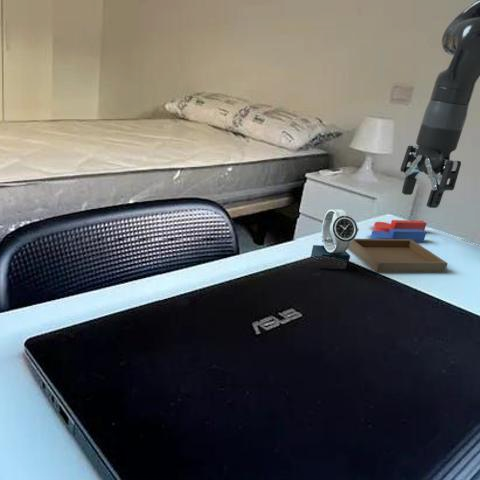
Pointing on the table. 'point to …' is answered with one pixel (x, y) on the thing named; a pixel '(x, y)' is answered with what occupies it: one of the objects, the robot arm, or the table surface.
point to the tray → (396, 255)
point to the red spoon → (399, 225)
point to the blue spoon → (400, 234)
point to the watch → (336, 235)
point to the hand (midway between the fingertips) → (418, 200)
